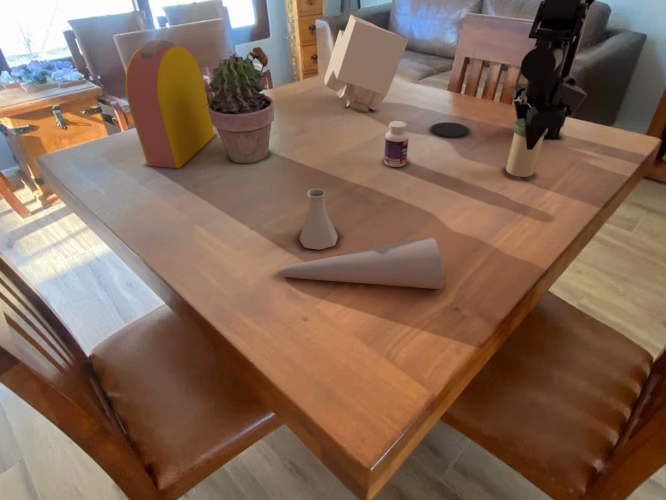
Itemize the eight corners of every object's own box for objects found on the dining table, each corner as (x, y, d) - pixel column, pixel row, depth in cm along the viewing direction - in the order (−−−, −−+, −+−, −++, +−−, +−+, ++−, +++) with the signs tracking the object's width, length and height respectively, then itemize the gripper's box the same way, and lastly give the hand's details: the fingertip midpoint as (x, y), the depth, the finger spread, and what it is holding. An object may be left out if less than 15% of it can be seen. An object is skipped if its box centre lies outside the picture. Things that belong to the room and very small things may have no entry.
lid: (510, 125, 95) (512, 117, 94) (542, 125, 94) (544, 118, 93) (516, 137, 90) (518, 130, 89) (550, 138, 89) (552, 130, 88)
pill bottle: (405, 168, 102) (409, 129, 96) (382, 166, 102) (384, 127, 97) (407, 158, 106) (410, 120, 100) (385, 157, 107) (387, 119, 101)
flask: (299, 229, 82) (295, 183, 76) (336, 226, 83) (335, 181, 77) (299, 252, 77) (295, 204, 71) (339, 249, 77) (339, 201, 71)
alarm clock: (186, 132, 122) (161, 31, 106) (215, 134, 121) (194, 31, 105) (146, 165, 106) (109, 51, 90) (179, 168, 104) (148, 52, 88)
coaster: (465, 124, 122) (466, 122, 122) (470, 138, 114) (470, 136, 114) (430, 123, 123) (430, 122, 123) (432, 137, 116) (432, 135, 115)
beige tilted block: (320, 88, 143) (345, 7, 129) (364, 101, 147) (393, 25, 133) (326, 110, 127) (355, 20, 113) (375, 124, 132) (408, 39, 118)
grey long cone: (268, 286, 63) (444, 262, 61) (272, 250, 70) (431, 227, 68) (280, 321, 68) (443, 299, 66) (283, 284, 74) (431, 263, 73)
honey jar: (530, 164, 99) (542, 121, 93) (536, 177, 95) (549, 132, 88) (503, 163, 100) (513, 120, 94) (508, 176, 96) (519, 132, 89)
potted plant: (192, 158, 108) (167, 53, 93) (253, 135, 120) (239, 37, 104) (235, 181, 99) (215, 67, 83) (297, 153, 110) (289, 48, 94)
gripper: (607, 83, 76) (578, 163, 85) (574, 56, 90) (553, 127, 100) (541, 82, 77) (520, 161, 86) (519, 56, 91) (503, 126, 101)
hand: (526, 143), depth 93 cm, fingers closed on lid, 6 cm apart
